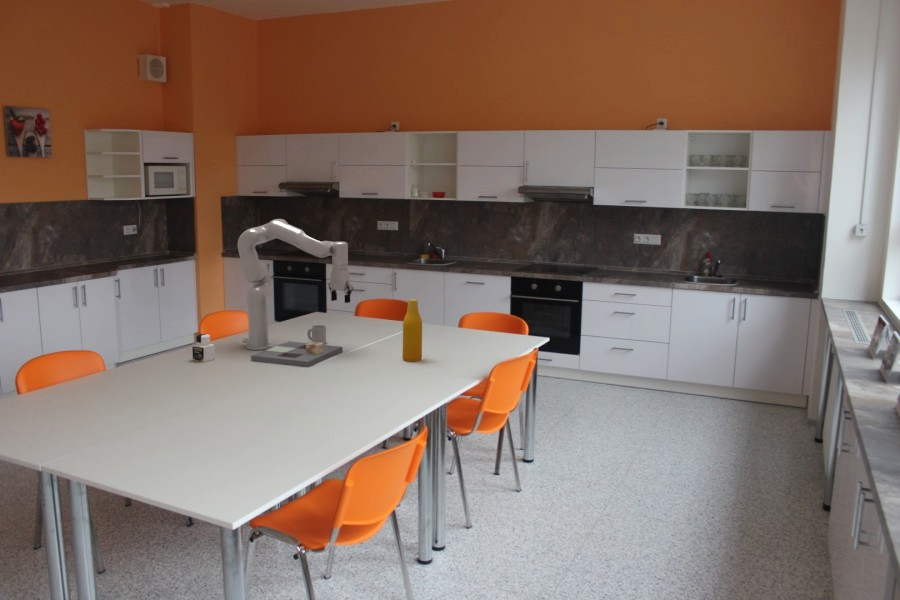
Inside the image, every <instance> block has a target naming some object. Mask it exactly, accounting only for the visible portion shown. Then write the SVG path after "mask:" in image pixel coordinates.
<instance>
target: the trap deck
mask: <svg viewBox="0 0 900 600" xmlns="http://www.w3.org/2000/svg"><path fill="white" fill-rule="evenodd" d="M306 344H308V342H297V341H287V342H286V341H285V343H281V344H279V345H275V346H272V347H271V348H269V349H265V350H261V351H259V352H257V353H255V354H252V355H250V361H252V362H259V363H267V364H268V363H269V364H276V365H284V366H285V365H287V366H293V367H294V366H296V367H303V368H304V367H305V368H309V367H312V366H313V365H317V364H318V363H321V362H323V361H325V360H327V359H330V358H332V357H333V356H336V355H338V354H341V353H342V352H343V346H338V345H327V344H323V352H322V353H320V354H318V355H316V354H306Z"/></svg>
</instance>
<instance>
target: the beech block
mask: <svg viewBox="0 0 900 600" xmlns="http://www.w3.org/2000/svg"><path fill="white" fill-rule="evenodd" d="M307 343H308V342H307ZM323 345H324V344H323V343H320V342H312V341H310V342H309V343H308V344H306V354H316V355H318V354H320V353H322V352H323Z"/></svg>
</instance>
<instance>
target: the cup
mask: <svg viewBox="0 0 900 600" xmlns="http://www.w3.org/2000/svg"><path fill="white" fill-rule="evenodd" d="M306 335H307V338H308V340H309V341H310V342H320V343H323V345H327V344H326V343H327V326H326V325H323V324H322V325H321V324H319V325H318V324H317V325H312V326H311V327H310V328H309V329H308V330H307V333H306Z"/></svg>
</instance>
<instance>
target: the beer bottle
mask: <svg viewBox="0 0 900 600" xmlns="http://www.w3.org/2000/svg"><path fill="white" fill-rule="evenodd" d="M418 304H419V302H418V299H415V298H411V299H408V302H407V308H406V309H407V310H406V314H405V316H404V317H403V318H404V319H403V322H402V360H403V361H404V362H407V363H417V362H422V361H421V360H422V359H423V321H422V318H421V315H420V313H419V312H420V311H419V305H418Z"/></svg>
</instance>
